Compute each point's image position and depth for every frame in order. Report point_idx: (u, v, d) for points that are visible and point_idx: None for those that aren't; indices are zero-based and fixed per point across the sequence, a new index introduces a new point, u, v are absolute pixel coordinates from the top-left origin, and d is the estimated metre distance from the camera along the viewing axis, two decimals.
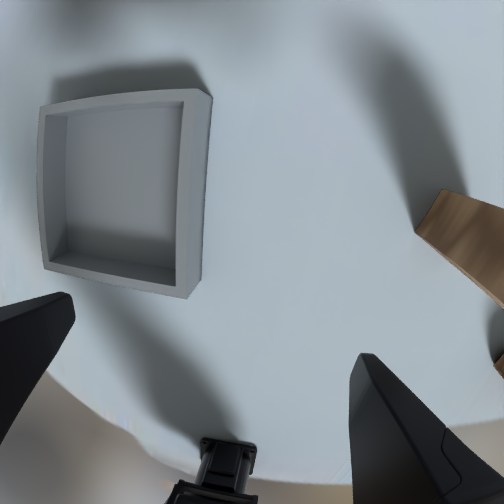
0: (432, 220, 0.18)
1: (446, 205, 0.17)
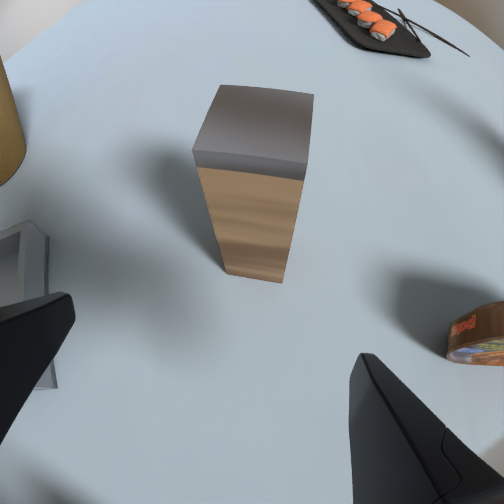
0: None
1: None
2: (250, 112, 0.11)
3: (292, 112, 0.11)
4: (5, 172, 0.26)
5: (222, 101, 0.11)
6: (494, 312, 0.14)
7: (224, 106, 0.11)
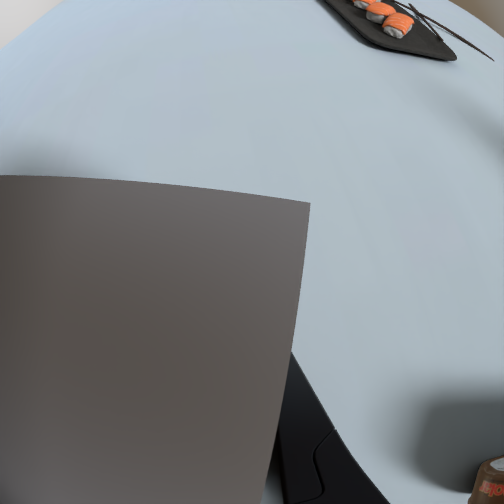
0: None
1: None
2: (11, 343, 0.02)
3: (174, 366, 0.02)
4: None
5: None
6: None
7: None
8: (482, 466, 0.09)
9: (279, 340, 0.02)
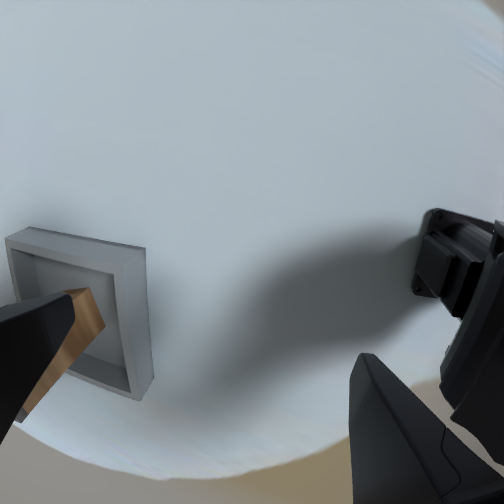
0: None
1: None
2: None
3: None
4: None
5: None
6: None
7: None
8: None
9: None
